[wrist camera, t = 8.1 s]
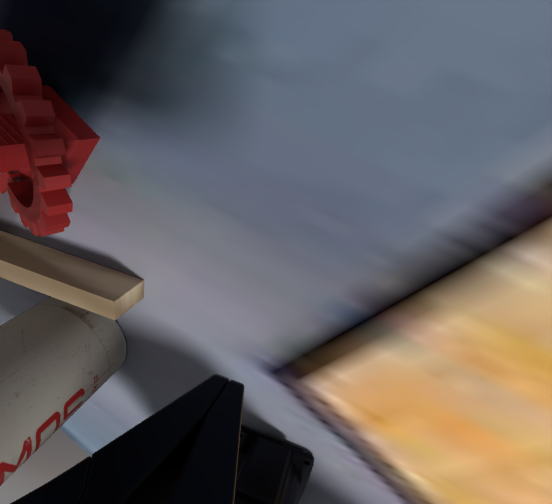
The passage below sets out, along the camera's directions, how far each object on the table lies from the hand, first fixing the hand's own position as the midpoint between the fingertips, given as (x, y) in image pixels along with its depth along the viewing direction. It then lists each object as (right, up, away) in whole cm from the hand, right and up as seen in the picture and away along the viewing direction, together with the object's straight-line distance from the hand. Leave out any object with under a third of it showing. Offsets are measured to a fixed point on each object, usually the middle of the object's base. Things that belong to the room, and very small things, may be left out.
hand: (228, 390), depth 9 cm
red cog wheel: (-13, +11, +13) cm, 22 cm away
